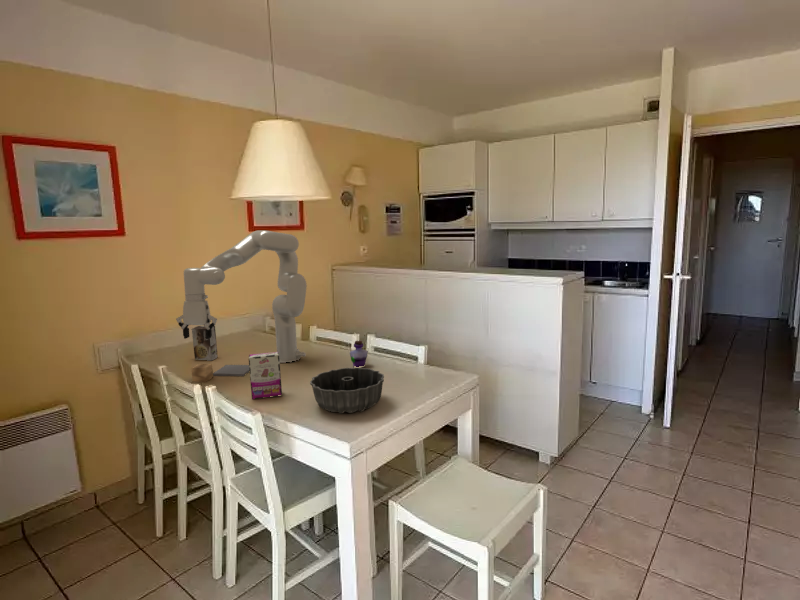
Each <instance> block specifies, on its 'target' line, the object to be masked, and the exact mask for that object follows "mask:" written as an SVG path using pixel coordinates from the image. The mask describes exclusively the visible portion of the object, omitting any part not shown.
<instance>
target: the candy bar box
mask: <svg viewBox="0 0 800 600" xmlns="http://www.w3.org/2000/svg"><path fill="white" fill-rule="evenodd" d="M248 365H249V370H250V372H249V378H250V379H249V380H250V390H251V391H250V392H251V400H256V399H255V398H261V399H264V398H263V397H269V398H271V397H270V396H278V395H282V396H283V390H282V389H283V388H282V376H281V374H282V373H281V363H280V360H279V352H277V351H275V352H274V351H273V352H264V353H252V354H249V355H248ZM278 397H279V396H278Z"/></svg>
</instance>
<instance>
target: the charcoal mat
mask: <svg viewBox="0 0 800 600" xmlns="http://www.w3.org/2000/svg"><path fill="white" fill-rule="evenodd" d="M249 371H250V370H249V364H225V365H224V366H222V367H220V368H219V369H217V370H216V371H213V377H245V376H246V375H247V374H249V373H250V372H249ZM246 373H247V374H246ZM245 374H246V375H245ZM244 375H245V376H244Z"/></svg>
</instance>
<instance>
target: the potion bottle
mask: <svg viewBox="0 0 800 600" xmlns="http://www.w3.org/2000/svg"><path fill="white" fill-rule="evenodd" d="M363 347H364V343H363V341H362V340H355V341H354V344H353V348H355V349H354V350H350V351H349V355H350V360H351V362H352V365H353V367H354V366H356V367H359V366H364V365H365V366H366V361H367V359H368V353H369V351H368V350H367V349H363Z"/></svg>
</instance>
